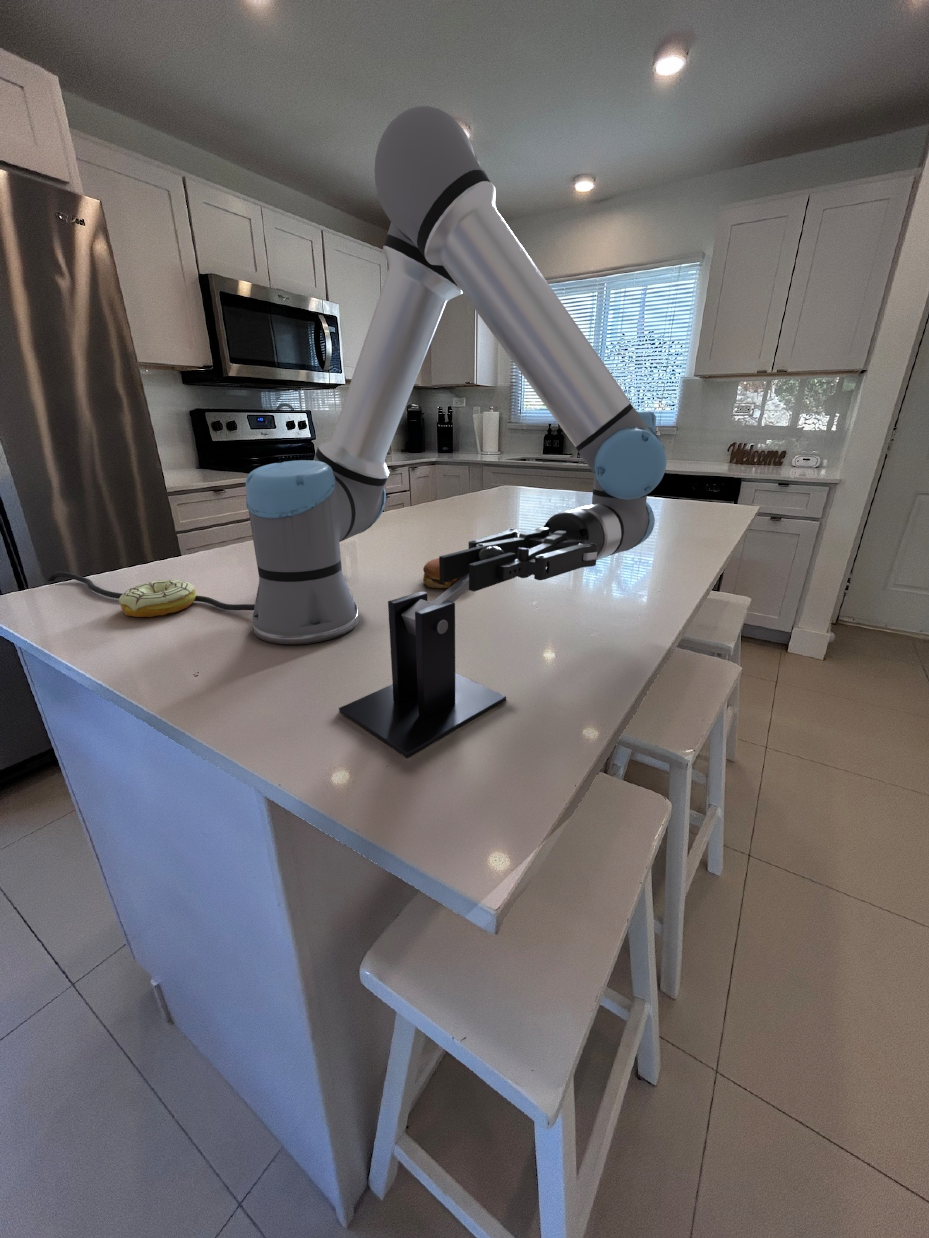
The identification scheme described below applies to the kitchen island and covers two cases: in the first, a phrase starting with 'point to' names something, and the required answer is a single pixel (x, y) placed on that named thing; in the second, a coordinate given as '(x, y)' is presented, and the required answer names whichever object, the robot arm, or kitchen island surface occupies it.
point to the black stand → (421, 683)
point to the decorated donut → (157, 598)
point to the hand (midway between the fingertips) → (456, 573)
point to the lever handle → (448, 590)
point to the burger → (435, 576)
